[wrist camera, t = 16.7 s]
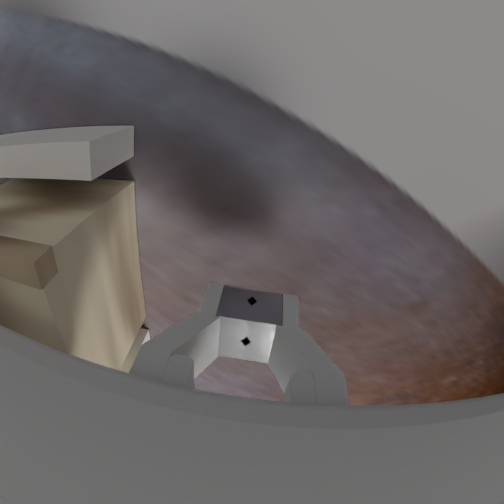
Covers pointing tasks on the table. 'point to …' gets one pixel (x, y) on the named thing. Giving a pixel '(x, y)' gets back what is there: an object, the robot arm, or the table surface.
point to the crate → (71, 266)
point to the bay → (70, 165)
